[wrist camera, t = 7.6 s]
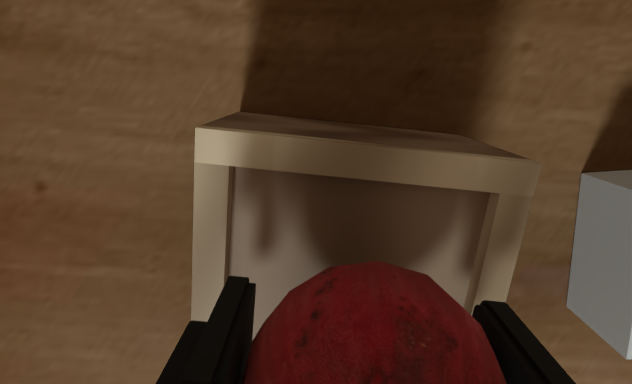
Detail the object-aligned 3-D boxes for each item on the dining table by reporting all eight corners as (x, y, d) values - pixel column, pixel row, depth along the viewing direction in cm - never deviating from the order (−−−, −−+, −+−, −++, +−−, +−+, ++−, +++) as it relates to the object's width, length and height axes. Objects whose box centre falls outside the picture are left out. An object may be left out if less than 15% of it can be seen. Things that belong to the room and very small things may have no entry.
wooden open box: (460, 134, 18) (542, 163, 11) (421, 326, 20) (470, 437, 14) (239, 111, 17) (195, 127, 11) (229, 308, 20) (189, 413, 14)
